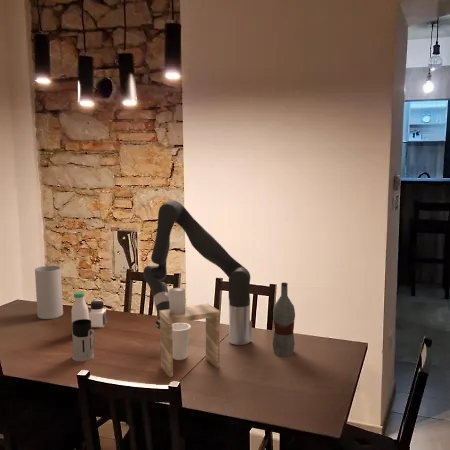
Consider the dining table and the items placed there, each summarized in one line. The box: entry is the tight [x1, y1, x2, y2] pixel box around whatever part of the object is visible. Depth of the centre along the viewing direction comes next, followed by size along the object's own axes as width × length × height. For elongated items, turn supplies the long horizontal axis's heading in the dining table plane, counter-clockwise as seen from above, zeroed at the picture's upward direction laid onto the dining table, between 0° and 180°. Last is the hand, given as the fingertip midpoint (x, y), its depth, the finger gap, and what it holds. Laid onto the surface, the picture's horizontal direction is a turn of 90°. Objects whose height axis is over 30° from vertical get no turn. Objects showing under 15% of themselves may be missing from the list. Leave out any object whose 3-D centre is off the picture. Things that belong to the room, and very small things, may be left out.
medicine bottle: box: [88, 299, 108, 328], centre depth 249 cm, size 7×7×12 cm
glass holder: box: [71, 319, 96, 362], centre depth 208 cm, size 9×14×15 cm, turn 44°
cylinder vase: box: [34, 265, 64, 320], centre depth 262 cm, size 12×12×25 cm
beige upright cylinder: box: [168, 287, 186, 315], centre depth 195 cm, size 6×6×9 cm
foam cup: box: [172, 322, 192, 361], centre depth 210 cm, size 10×9×13 cm
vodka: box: [272, 282, 296, 357], centre depth 213 cm, size 9×9×30 cm
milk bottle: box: [70, 291, 89, 333], centre depth 235 cm, size 8×8×20 cm
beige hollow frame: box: [159, 303, 221, 378], centre depth 199 cm, size 21×11×23 cm, turn 116°
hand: (173, 340), depth 216 cm, fingers closed
